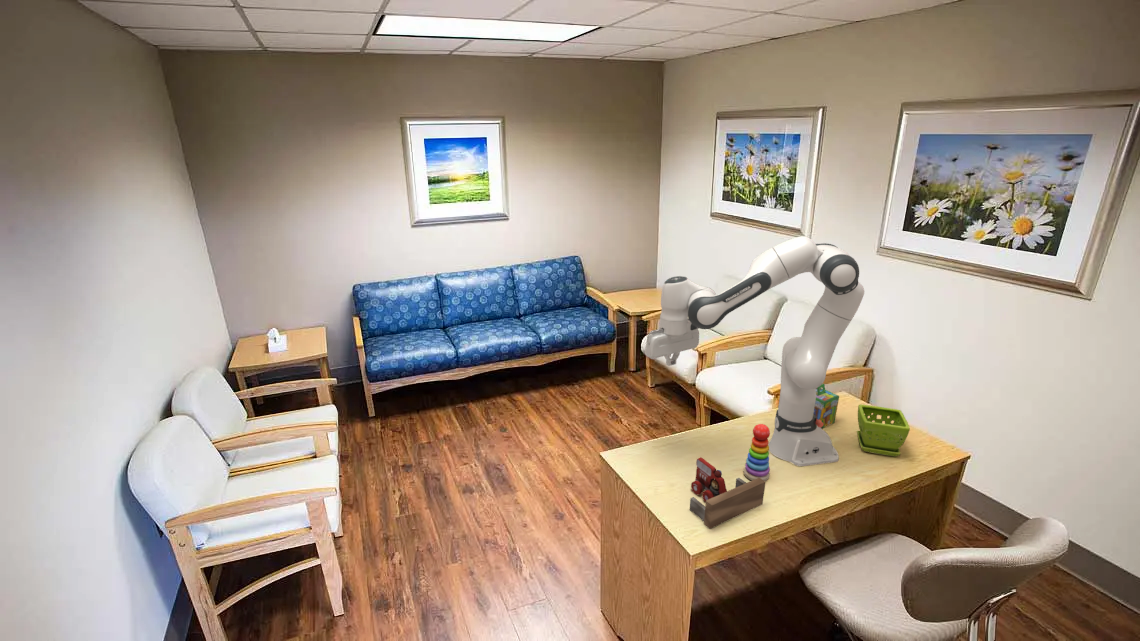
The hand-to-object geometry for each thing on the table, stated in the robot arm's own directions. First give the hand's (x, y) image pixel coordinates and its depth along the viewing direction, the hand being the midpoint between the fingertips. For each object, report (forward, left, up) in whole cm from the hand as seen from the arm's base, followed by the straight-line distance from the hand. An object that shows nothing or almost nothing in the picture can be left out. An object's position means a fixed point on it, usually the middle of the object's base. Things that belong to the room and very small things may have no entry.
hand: (671, 364), depth 184 cm
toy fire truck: (-8, +28, -31) cm, 43 cm away
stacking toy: (-26, +18, -31) cm, 45 cm away
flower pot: (-73, +2, -31) cm, 79 cm away
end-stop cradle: (-12, +33, -31) cm, 47 cm away
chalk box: (-60, -16, -31) cm, 70 cm away
